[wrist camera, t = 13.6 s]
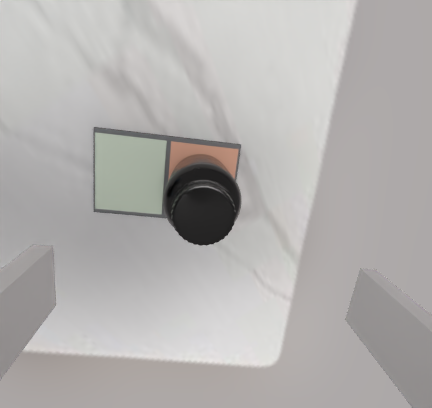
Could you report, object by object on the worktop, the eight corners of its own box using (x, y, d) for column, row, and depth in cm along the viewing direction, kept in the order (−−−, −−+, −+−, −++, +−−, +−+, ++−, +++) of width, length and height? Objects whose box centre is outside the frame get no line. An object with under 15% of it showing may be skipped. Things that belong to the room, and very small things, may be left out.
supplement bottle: (239, 196, 32) (263, 238, 21) (186, 220, 33) (182, 273, 21) (215, 142, 30) (227, 155, 19) (159, 167, 31) (139, 196, 19)
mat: (95, 210, 32) (92, 212, 32) (95, 127, 30) (92, 127, 29) (229, 222, 34) (230, 224, 33) (240, 144, 32) (241, 145, 31)
